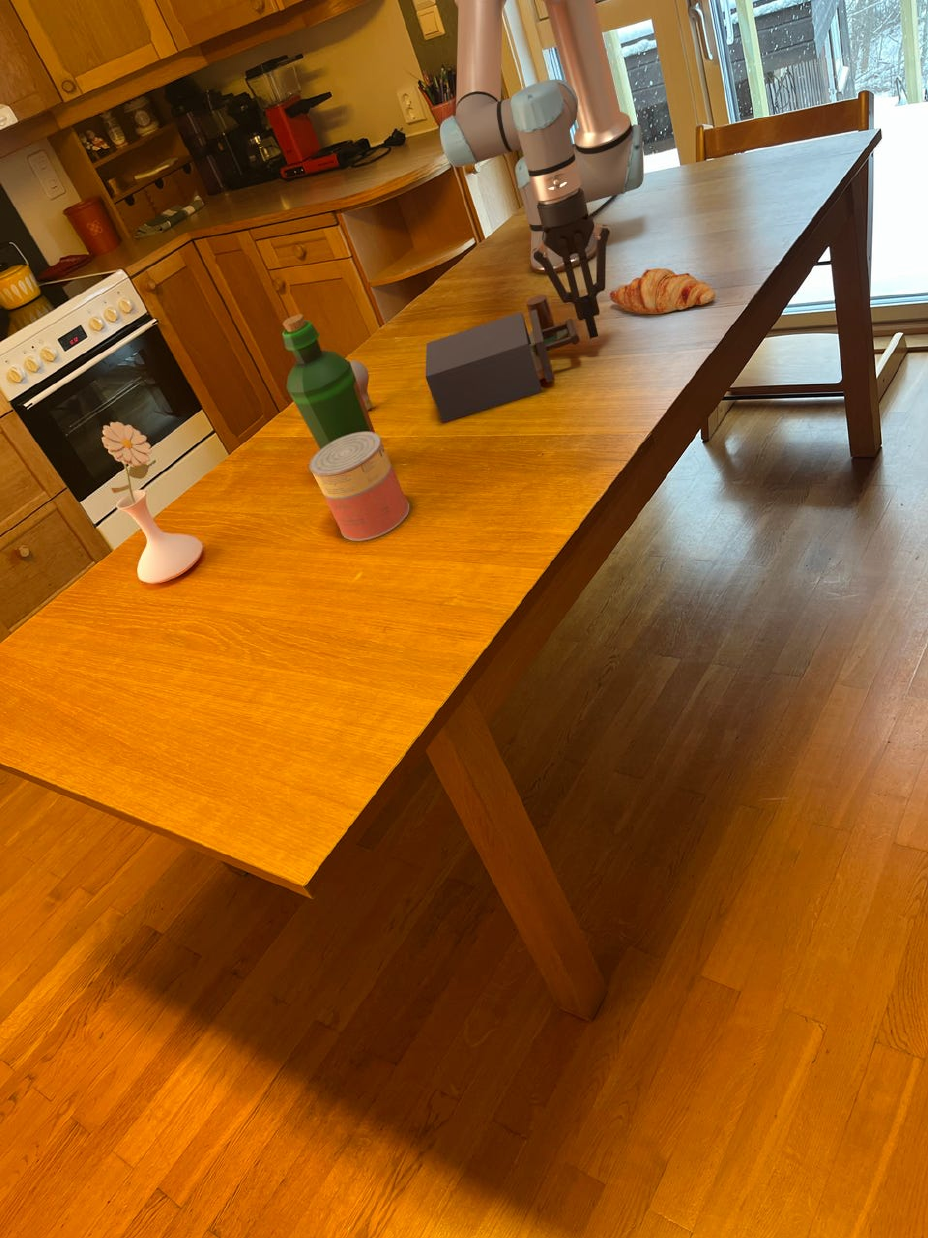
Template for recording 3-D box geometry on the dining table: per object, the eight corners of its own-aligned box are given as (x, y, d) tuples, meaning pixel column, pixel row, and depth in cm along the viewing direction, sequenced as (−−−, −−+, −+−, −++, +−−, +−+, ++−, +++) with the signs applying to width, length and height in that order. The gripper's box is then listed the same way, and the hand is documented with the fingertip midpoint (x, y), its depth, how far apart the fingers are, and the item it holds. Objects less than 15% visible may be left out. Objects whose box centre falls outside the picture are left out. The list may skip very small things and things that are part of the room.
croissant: (725, 314, 161) (729, 266, 159) (700, 312, 154) (704, 262, 151) (622, 315, 174) (624, 271, 172) (594, 314, 167) (596, 268, 164)
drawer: (577, 336, 163) (567, 298, 159) (588, 369, 151) (577, 329, 147) (452, 377, 167) (439, 341, 163) (452, 411, 156) (439, 374, 151)
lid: (523, 336, 175) (512, 298, 170) (567, 321, 173) (557, 283, 169) (526, 353, 168) (515, 315, 163) (572, 338, 166) (562, 299, 162)
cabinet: (535, 357, 165) (521, 311, 160) (542, 391, 153) (528, 343, 148) (442, 387, 168) (426, 342, 163) (442, 423, 157) (425, 376, 151)
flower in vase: (174, 593, 141) (84, 458, 126) (130, 586, 148) (40, 457, 133) (227, 542, 149) (148, 409, 134) (183, 538, 155) (103, 410, 140)
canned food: (423, 503, 137) (395, 435, 130) (373, 546, 132) (341, 478, 125) (376, 492, 145) (347, 428, 138) (327, 533, 140) (294, 468, 133)
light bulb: (386, 401, 172) (366, 353, 166) (373, 416, 168) (353, 367, 163) (363, 403, 175) (343, 356, 169) (350, 418, 171) (329, 371, 165)
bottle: (402, 454, 152) (336, 297, 136) (379, 491, 145) (307, 329, 128) (349, 462, 157) (279, 310, 140) (324, 497, 150) (247, 341, 133)
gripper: (520, 215, 139) (558, 354, 153) (602, 186, 137) (633, 330, 151) (517, 202, 145) (554, 338, 159) (596, 174, 143) (627, 314, 157)
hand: (593, 334), depth 155 cm, fingers closed
